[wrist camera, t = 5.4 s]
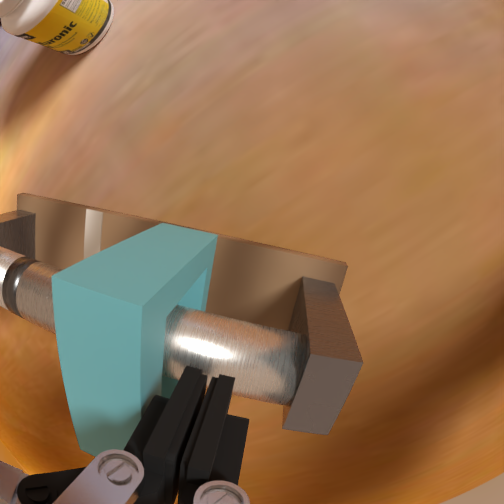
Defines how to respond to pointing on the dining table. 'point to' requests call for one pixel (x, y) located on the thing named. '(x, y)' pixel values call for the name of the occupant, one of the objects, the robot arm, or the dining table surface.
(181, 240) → the teal rectangular frame
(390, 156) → the dining table surface
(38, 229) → the base board
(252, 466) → the dining table surface
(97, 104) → the dining table surface
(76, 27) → the supplement bottle
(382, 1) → the dining table surface
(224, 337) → the rail
